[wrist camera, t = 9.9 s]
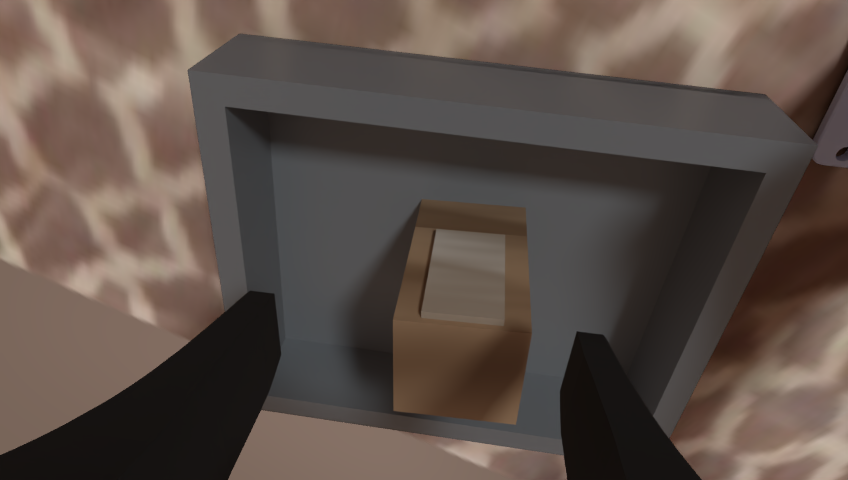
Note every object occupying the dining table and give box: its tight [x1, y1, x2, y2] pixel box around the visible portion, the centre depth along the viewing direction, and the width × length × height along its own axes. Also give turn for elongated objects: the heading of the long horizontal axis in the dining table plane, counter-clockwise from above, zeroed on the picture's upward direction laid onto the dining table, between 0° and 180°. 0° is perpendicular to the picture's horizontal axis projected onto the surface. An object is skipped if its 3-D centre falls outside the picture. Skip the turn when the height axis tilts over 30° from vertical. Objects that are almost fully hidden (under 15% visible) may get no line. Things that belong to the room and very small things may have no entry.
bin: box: [188, 34, 818, 455], centre depth 22 cm, size 18×15×4 cm
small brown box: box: [393, 199, 532, 425], centre depth 21 cm, size 4×4×7 cm
